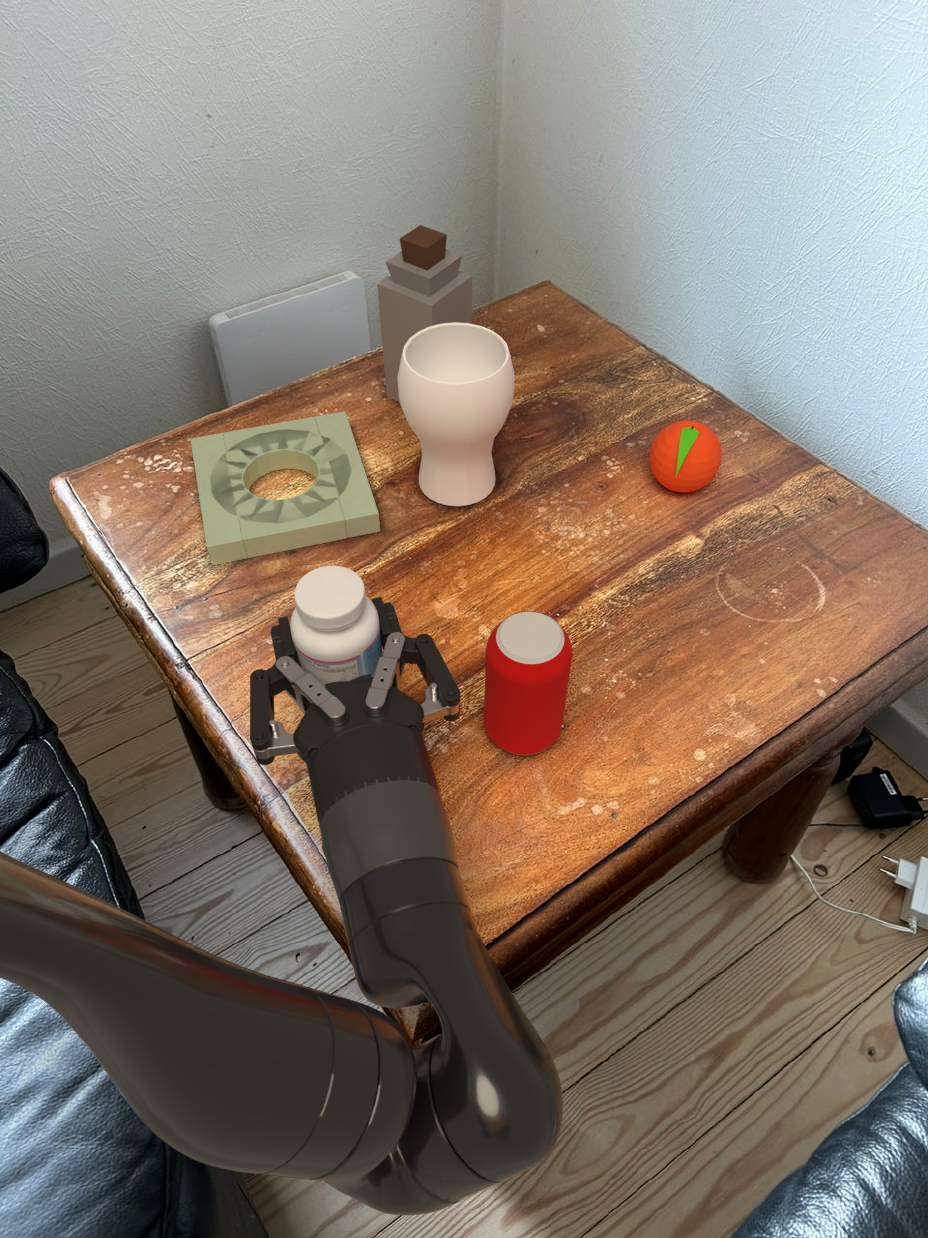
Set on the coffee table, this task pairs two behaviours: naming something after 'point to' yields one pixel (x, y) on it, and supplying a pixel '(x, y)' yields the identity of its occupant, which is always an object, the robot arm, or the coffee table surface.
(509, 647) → the beverage can
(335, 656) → the pill bottle
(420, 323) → the perfume bottle
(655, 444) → the clementine
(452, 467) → the cup
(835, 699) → the coffee table surface
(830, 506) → the coffee table surface
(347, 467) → the hole plate
